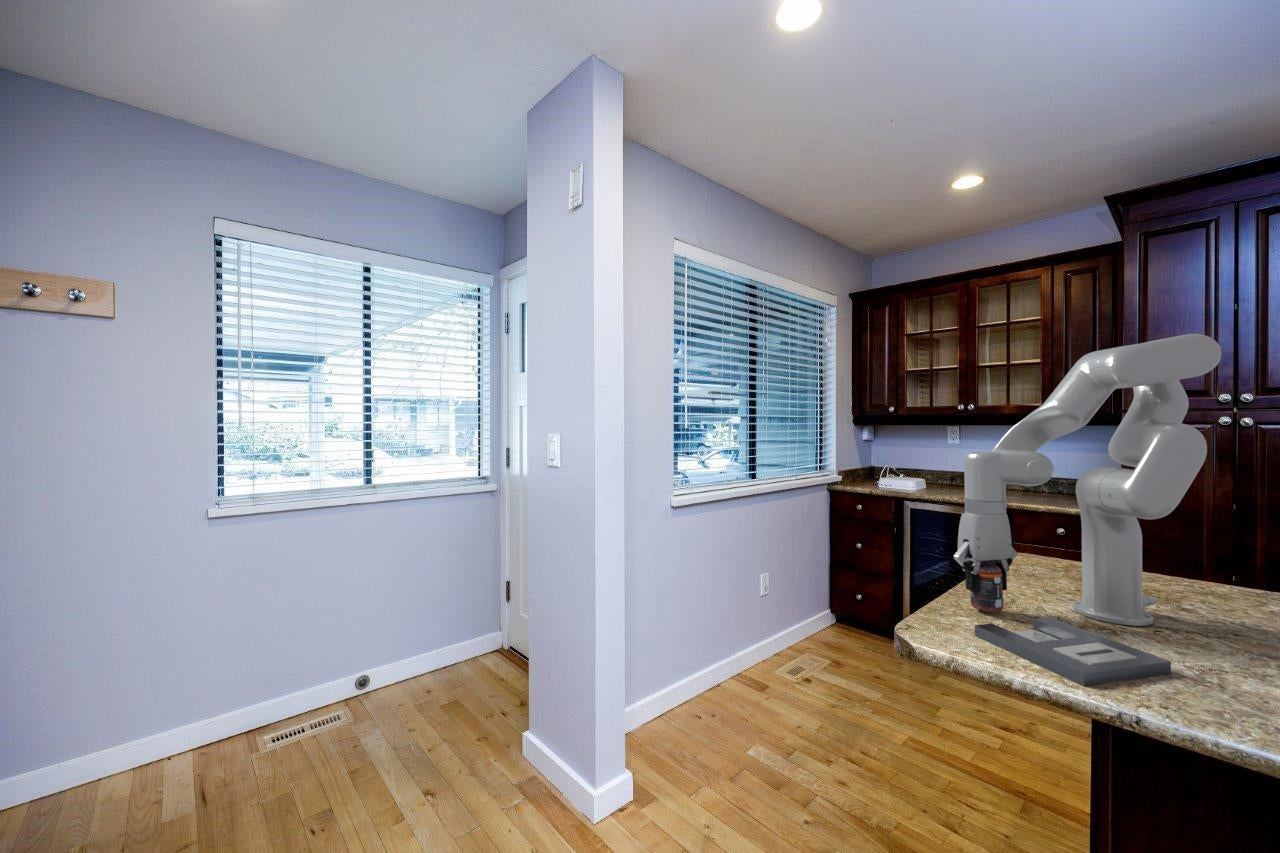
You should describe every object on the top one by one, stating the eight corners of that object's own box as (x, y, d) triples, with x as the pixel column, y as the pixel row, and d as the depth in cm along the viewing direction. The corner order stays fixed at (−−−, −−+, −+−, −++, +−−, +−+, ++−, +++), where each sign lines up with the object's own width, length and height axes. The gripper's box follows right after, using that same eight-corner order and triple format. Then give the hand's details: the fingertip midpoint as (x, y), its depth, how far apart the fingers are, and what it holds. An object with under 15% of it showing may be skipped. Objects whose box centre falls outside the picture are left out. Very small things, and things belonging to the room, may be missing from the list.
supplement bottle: (1009, 613, 108) (1006, 560, 108) (977, 612, 110) (975, 559, 110) (995, 603, 114) (993, 553, 114) (966, 602, 115) (963, 552, 115)
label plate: (1049, 627, 103) (1049, 615, 103) (1171, 673, 84) (1170, 659, 84) (974, 635, 99) (974, 623, 99) (1084, 686, 80) (1083, 671, 80)
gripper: (1002, 503, 117) (1003, 581, 117) (938, 507, 114) (939, 587, 114) (1033, 508, 110) (1034, 592, 110) (966, 512, 106) (967, 598, 106)
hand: (986, 589), depth 112 cm, fingers open, 6 cm apart
